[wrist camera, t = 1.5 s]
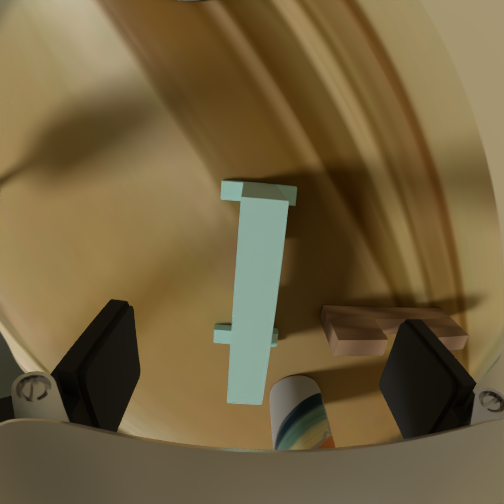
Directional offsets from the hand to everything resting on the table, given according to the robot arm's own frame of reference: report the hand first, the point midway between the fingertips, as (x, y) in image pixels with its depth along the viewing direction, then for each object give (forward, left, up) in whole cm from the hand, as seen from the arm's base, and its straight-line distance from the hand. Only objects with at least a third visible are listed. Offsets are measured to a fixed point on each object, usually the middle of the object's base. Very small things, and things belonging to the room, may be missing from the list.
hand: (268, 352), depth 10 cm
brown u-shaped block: (+8, +14, -17) cm, 24 cm away
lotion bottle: (+18, +6, -18) cm, 26 cm away
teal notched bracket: (+4, 0, -17) cm, 18 cm away
